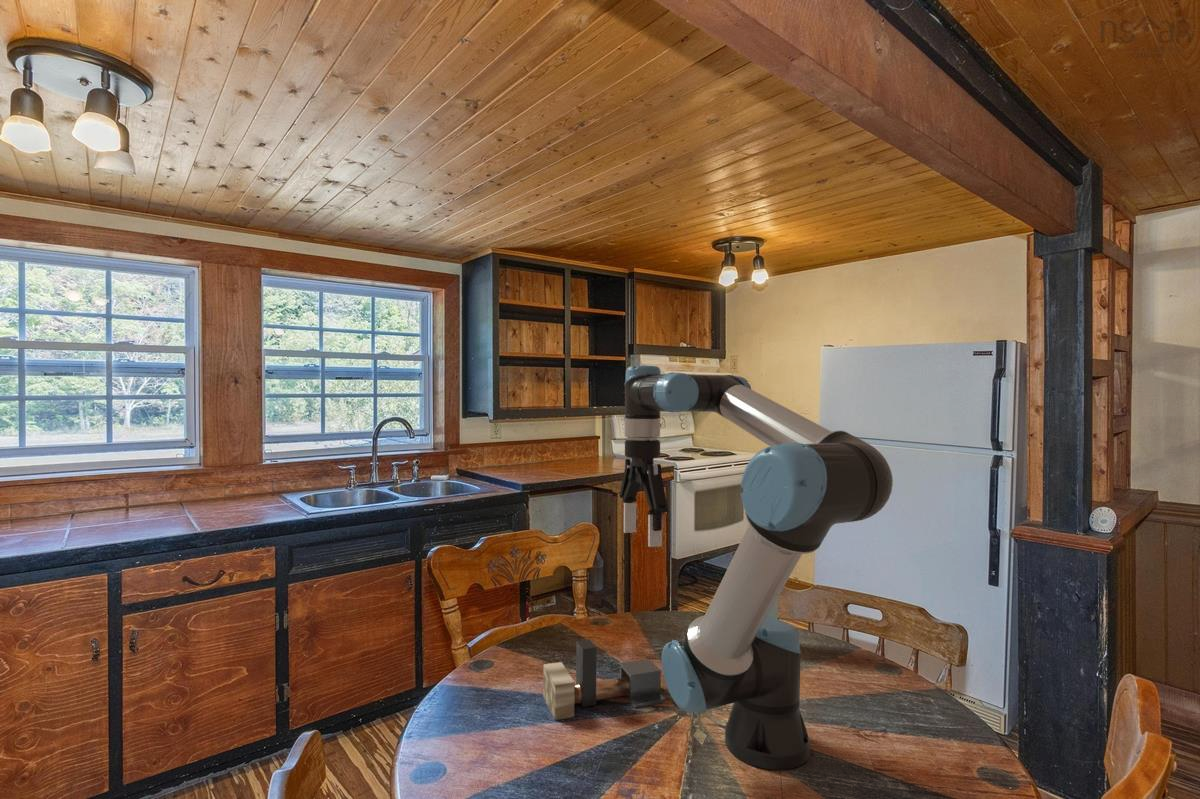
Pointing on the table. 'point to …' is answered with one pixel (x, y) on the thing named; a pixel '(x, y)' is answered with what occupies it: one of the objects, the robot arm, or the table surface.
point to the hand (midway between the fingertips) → (641, 539)
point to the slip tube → (594, 678)
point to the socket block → (558, 690)
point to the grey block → (643, 682)
